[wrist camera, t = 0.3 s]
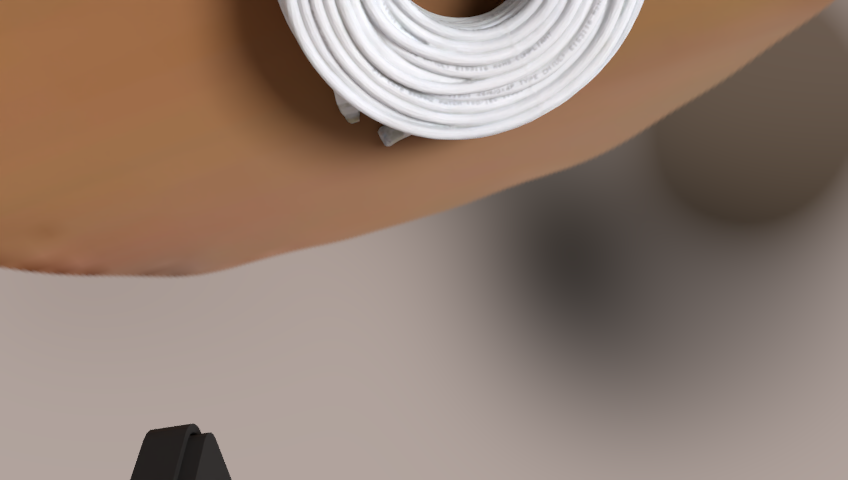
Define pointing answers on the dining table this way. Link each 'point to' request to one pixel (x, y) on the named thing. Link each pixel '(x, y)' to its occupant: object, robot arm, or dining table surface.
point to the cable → (456, 60)
